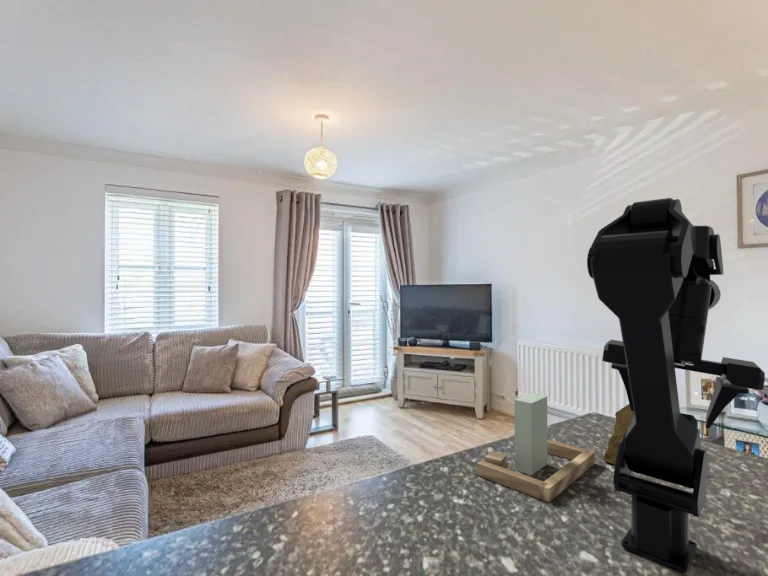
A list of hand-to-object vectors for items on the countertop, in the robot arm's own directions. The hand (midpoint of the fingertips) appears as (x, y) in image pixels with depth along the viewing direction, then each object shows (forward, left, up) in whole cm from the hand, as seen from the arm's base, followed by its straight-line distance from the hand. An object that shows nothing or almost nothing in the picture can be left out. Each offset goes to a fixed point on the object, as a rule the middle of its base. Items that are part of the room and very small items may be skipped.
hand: (668, 418), depth 62 cm
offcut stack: (-11, +23, -12) cm, 28 cm away
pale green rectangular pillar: (-5, +19, -12) cm, 23 cm away
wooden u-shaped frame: (-5, +18, -12) cm, 22 cm away
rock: (+11, +10, -12) cm, 19 cm away
